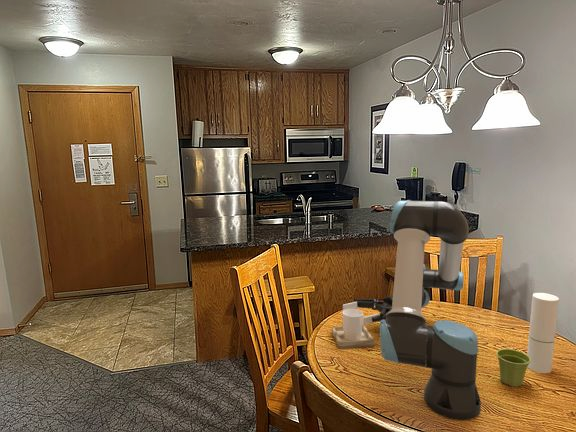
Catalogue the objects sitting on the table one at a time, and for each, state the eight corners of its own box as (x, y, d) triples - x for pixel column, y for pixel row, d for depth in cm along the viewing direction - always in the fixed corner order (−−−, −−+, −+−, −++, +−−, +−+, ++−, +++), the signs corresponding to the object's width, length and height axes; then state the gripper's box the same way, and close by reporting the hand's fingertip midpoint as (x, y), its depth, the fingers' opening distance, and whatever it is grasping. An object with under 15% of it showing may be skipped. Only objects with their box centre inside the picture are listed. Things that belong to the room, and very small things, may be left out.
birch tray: (374, 346, 148) (374, 340, 148) (339, 348, 147) (339, 342, 147) (363, 330, 161) (363, 325, 161) (331, 332, 160) (331, 326, 160)
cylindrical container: (553, 367, 133) (560, 296, 129) (548, 376, 127) (556, 302, 123) (529, 360, 137) (535, 291, 133) (523, 368, 132) (530, 297, 128)
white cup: (362, 342, 150) (363, 317, 148) (341, 341, 151) (342, 316, 149) (362, 333, 157) (363, 309, 156) (342, 331, 159) (342, 308, 157)
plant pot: (488, 373, 130) (490, 348, 128) (518, 373, 130) (520, 348, 128) (503, 390, 121) (505, 363, 119) (534, 390, 120) (537, 364, 119)
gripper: (418, 324, 152) (373, 336, 143) (376, 302, 174) (335, 311, 165) (418, 305, 151) (374, 316, 141) (376, 286, 173) (335, 294, 164)
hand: (353, 314), depth 153 cm, fingers open, 13 cm apart
